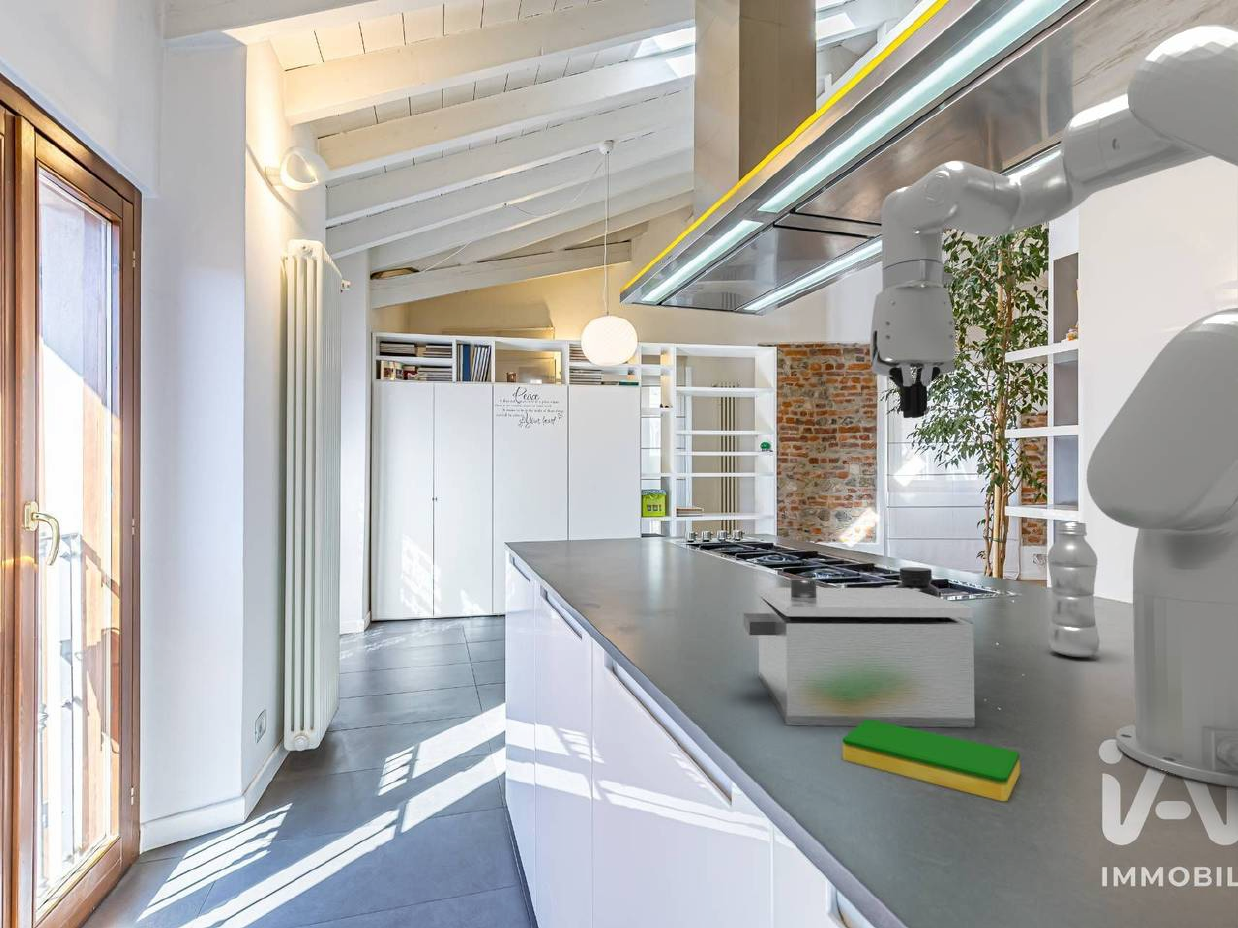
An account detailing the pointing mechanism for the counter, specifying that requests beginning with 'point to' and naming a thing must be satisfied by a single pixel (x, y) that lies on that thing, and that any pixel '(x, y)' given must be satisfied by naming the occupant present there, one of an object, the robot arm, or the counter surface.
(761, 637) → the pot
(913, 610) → the lid
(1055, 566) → the plastic bottle
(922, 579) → the supplement bottle
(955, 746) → the dish sponge
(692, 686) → the counter surface
